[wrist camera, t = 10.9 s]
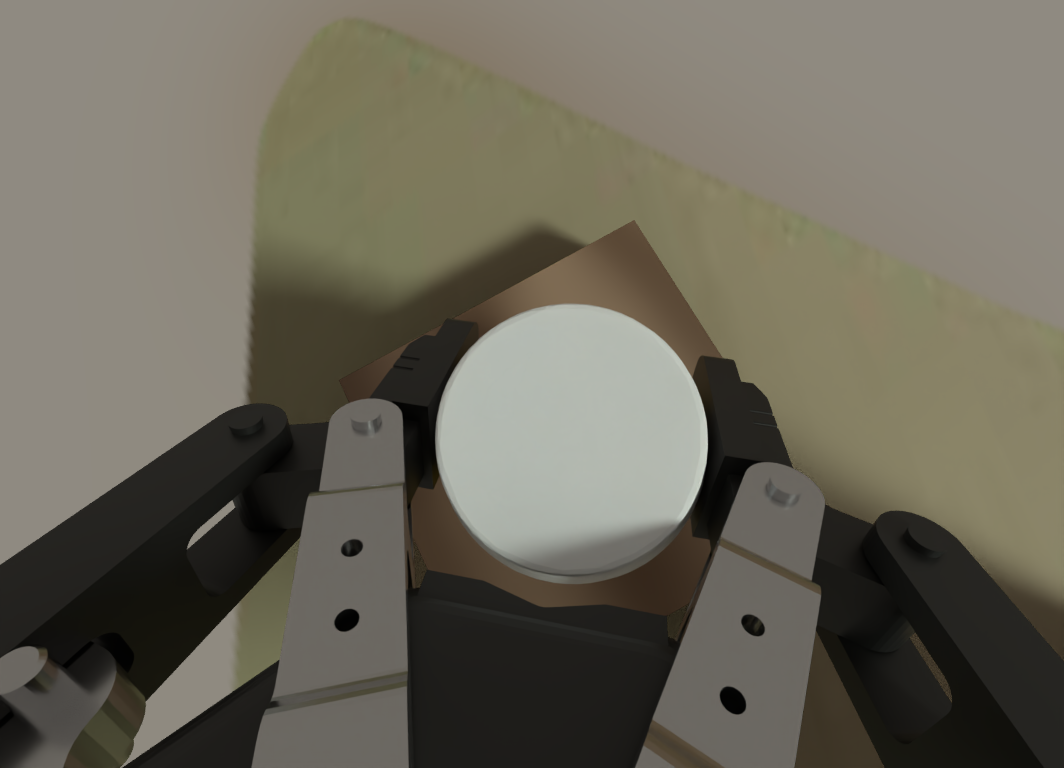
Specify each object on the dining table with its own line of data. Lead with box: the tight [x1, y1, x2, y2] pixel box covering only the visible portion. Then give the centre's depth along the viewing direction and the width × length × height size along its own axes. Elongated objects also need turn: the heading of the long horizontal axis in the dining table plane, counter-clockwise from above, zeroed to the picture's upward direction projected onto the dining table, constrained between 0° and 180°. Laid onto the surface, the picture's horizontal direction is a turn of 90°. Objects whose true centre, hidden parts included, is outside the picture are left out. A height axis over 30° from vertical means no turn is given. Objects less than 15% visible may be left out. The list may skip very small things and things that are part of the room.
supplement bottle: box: [435, 304, 708, 584], centre depth 12 cm, size 5×5×10 cm
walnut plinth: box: [339, 221, 722, 616], centre depth 20 cm, size 13×13×4 cm
